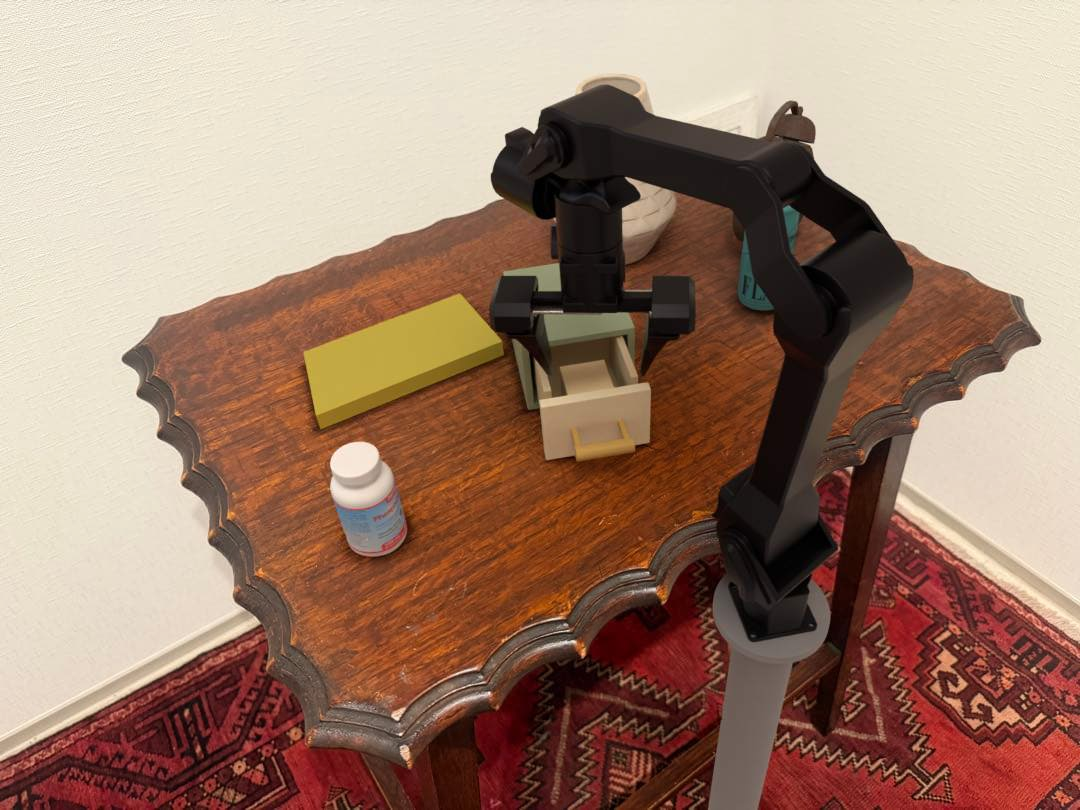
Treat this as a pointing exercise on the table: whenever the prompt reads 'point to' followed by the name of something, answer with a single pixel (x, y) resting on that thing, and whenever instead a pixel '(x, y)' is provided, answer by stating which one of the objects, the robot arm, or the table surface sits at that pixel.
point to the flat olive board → (397, 358)
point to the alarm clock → (785, 140)
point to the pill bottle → (367, 500)
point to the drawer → (593, 404)
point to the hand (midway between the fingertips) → (595, 373)
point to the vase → (638, 182)
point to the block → (584, 378)
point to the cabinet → (567, 328)
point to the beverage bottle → (747, 285)
